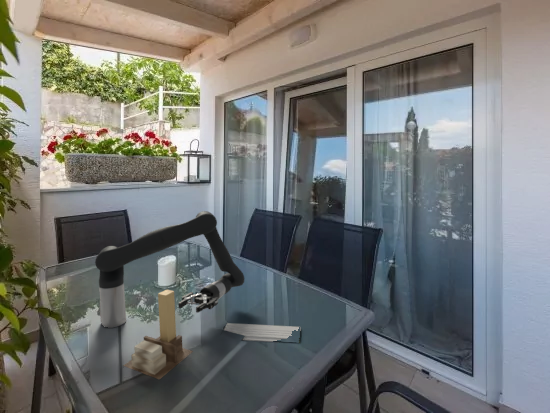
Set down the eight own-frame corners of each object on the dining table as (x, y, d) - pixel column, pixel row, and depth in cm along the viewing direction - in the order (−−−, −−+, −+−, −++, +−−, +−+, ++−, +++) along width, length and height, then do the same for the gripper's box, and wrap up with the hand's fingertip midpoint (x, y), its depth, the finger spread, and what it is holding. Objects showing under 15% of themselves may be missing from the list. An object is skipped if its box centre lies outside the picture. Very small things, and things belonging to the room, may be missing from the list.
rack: (123, 369, 101) (121, 348, 100) (159, 344, 116) (158, 325, 115) (159, 383, 95) (158, 361, 94) (193, 355, 109) (192, 335, 108)
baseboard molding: (299, 347, 115) (300, 330, 127) (300, 339, 115) (300, 323, 127) (219, 342, 118) (227, 326, 130) (219, 335, 118) (227, 320, 130)
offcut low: (132, 366, 101) (131, 355, 100) (144, 357, 105) (143, 346, 105) (154, 374, 97) (154, 363, 96) (166, 365, 101) (165, 354, 101)
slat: (161, 352, 108) (157, 293, 105) (169, 346, 112) (166, 289, 109) (168, 355, 107) (165, 295, 104) (176, 349, 110) (174, 291, 107)
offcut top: (134, 354, 100) (134, 346, 100) (144, 348, 104) (144, 340, 104) (152, 361, 97) (152, 352, 97) (162, 354, 101) (161, 345, 100)
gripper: (199, 281, 134) (173, 295, 120) (226, 286, 129) (202, 302, 114) (200, 297, 135) (174, 313, 121) (227, 303, 130) (203, 321, 115)
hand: (187, 307), depth 117 cm, fingers open, 8 cm apart
